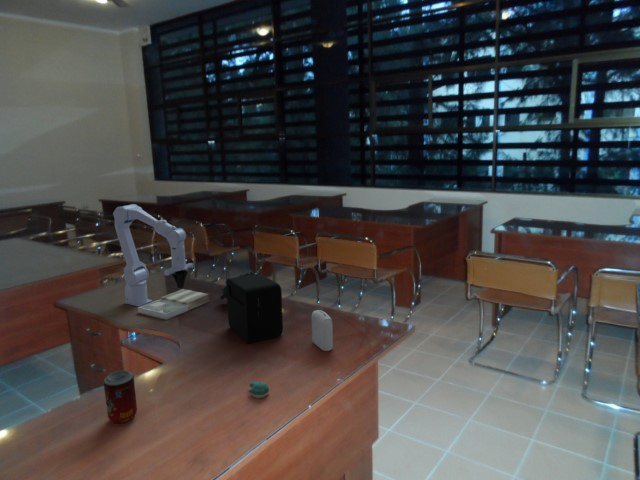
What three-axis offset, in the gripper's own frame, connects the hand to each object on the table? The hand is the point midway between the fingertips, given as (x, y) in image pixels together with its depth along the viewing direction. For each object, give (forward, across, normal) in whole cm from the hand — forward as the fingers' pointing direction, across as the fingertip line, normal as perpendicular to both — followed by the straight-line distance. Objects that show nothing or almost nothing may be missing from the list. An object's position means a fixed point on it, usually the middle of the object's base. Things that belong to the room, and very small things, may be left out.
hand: (180, 287), depth 202 cm
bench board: (+9, +4, +2) cm, 10 cm away
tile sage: (+6, -8, -3) cm, 11 cm away
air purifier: (+9, -6, -46) cm, 47 cm away
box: (+9, -8, +2) cm, 12 cm away
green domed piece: (+9, -40, -74) cm, 85 cm away
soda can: (+9, -68, -52) cm, 86 cm away
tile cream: (+6, -8, +6) cm, 12 cm away
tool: (+9, +17, -21) cm, 28 cm away
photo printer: (+9, -4, -74) cm, 75 cm away
